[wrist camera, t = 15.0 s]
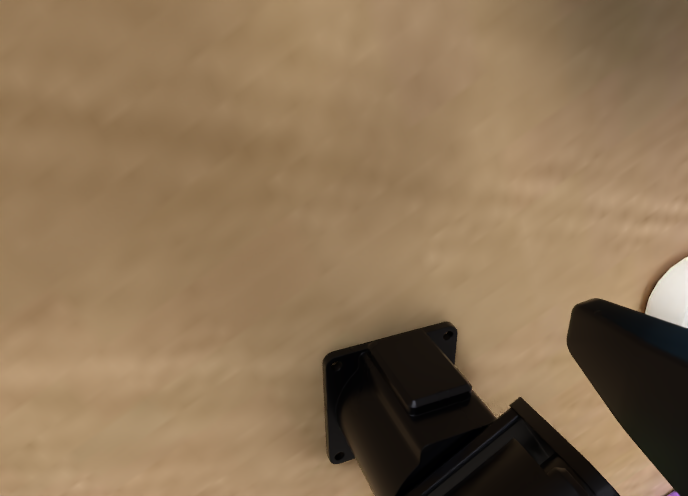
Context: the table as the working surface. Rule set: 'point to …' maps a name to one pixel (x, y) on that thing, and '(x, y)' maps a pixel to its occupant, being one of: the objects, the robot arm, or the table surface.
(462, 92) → the table surface
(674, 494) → the candy box
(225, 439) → the table surface
